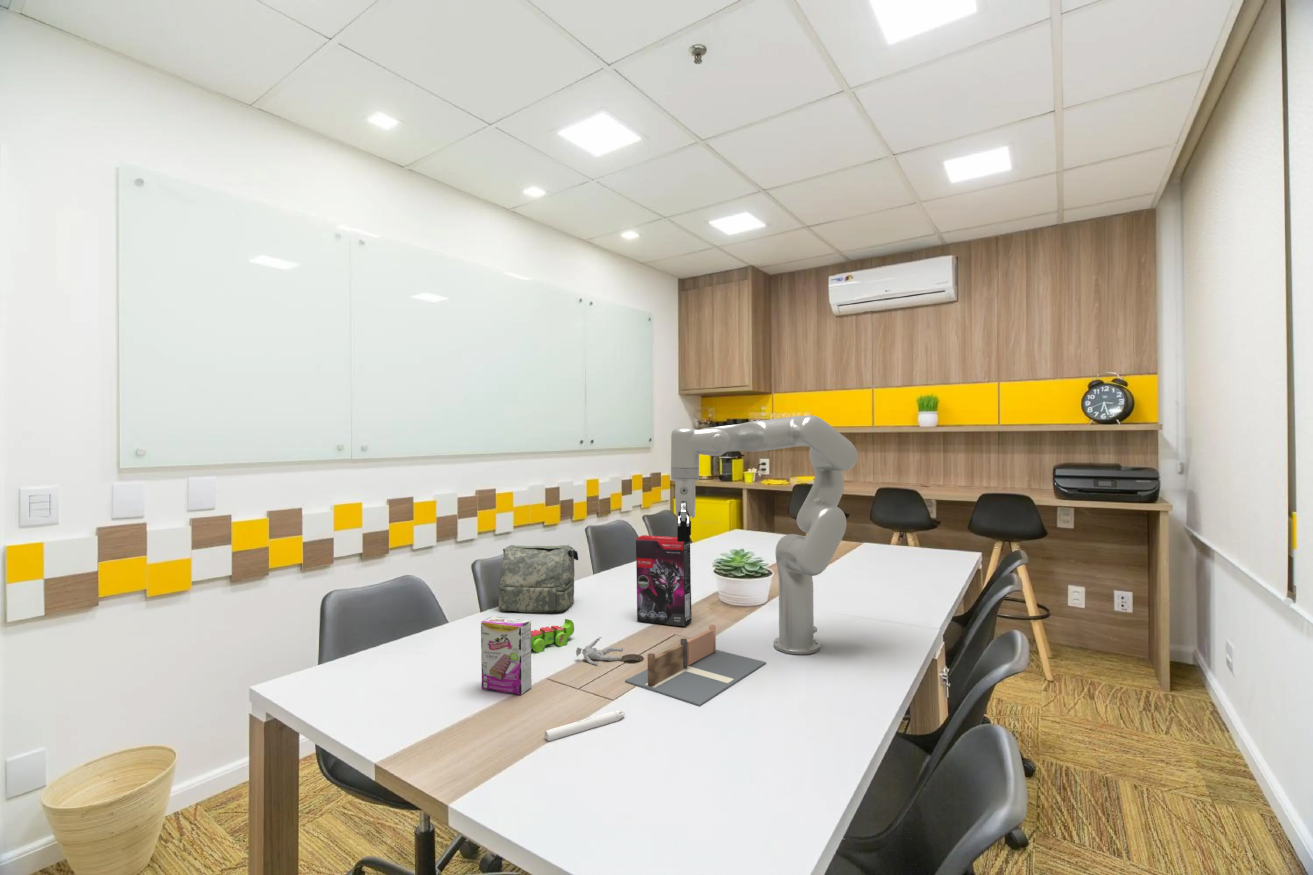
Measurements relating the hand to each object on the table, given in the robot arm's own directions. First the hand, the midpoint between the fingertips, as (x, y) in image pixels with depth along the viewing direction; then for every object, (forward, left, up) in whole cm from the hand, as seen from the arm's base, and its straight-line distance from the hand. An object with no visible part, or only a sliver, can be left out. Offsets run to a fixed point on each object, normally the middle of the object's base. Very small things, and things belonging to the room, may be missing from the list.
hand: (684, 538), depth 162 cm
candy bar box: (+41, -23, -33) cm, 57 cm away
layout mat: (+5, +8, -33) cm, 34 cm away
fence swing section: (-2, +4, -32) cm, 32 cm away
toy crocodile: (+16, -38, -33) cm, 53 cm away
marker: (+43, +6, -33) cm, 54 cm away
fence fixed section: (+12, +4, -32) cm, 34 cm away
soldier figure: (+14, -18, -33) cm, 40 cm away
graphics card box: (-22, -24, -33) cm, 47 cm away
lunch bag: (-10, -70, -33) cm, 78 cm away
